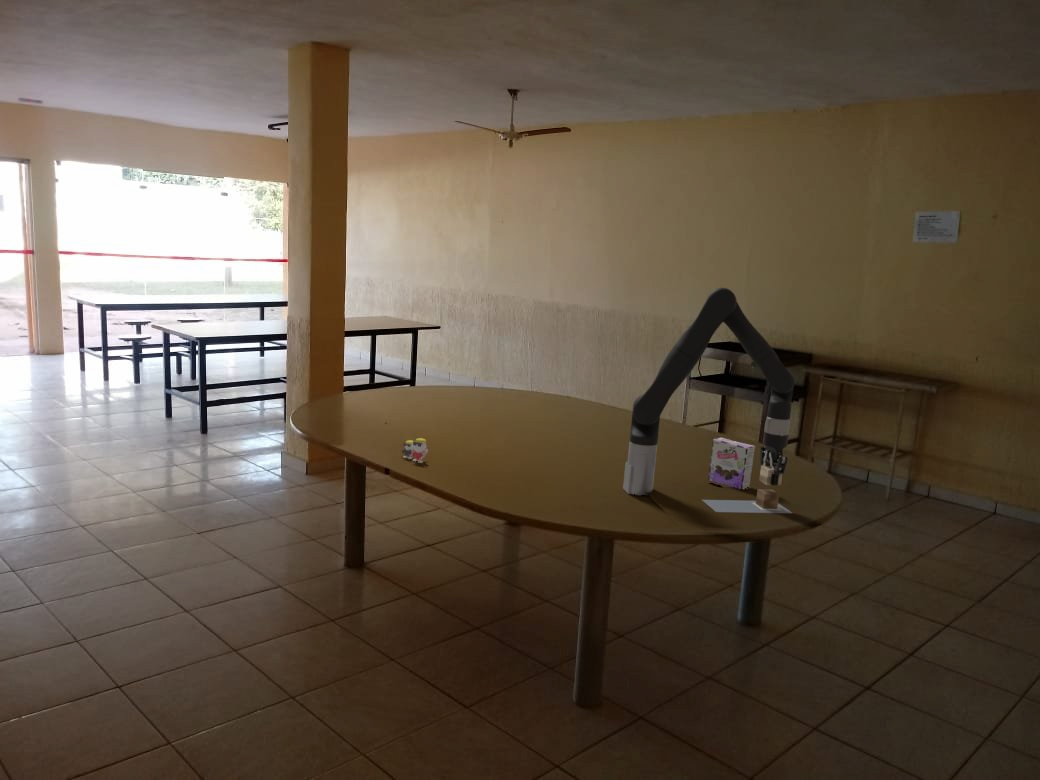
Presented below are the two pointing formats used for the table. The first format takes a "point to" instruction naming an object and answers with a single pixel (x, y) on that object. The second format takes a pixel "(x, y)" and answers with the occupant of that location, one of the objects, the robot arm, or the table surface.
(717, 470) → the candy box
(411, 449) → the toy figures
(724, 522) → the table surface
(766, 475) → the birch block
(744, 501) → the board
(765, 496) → the walnut block
